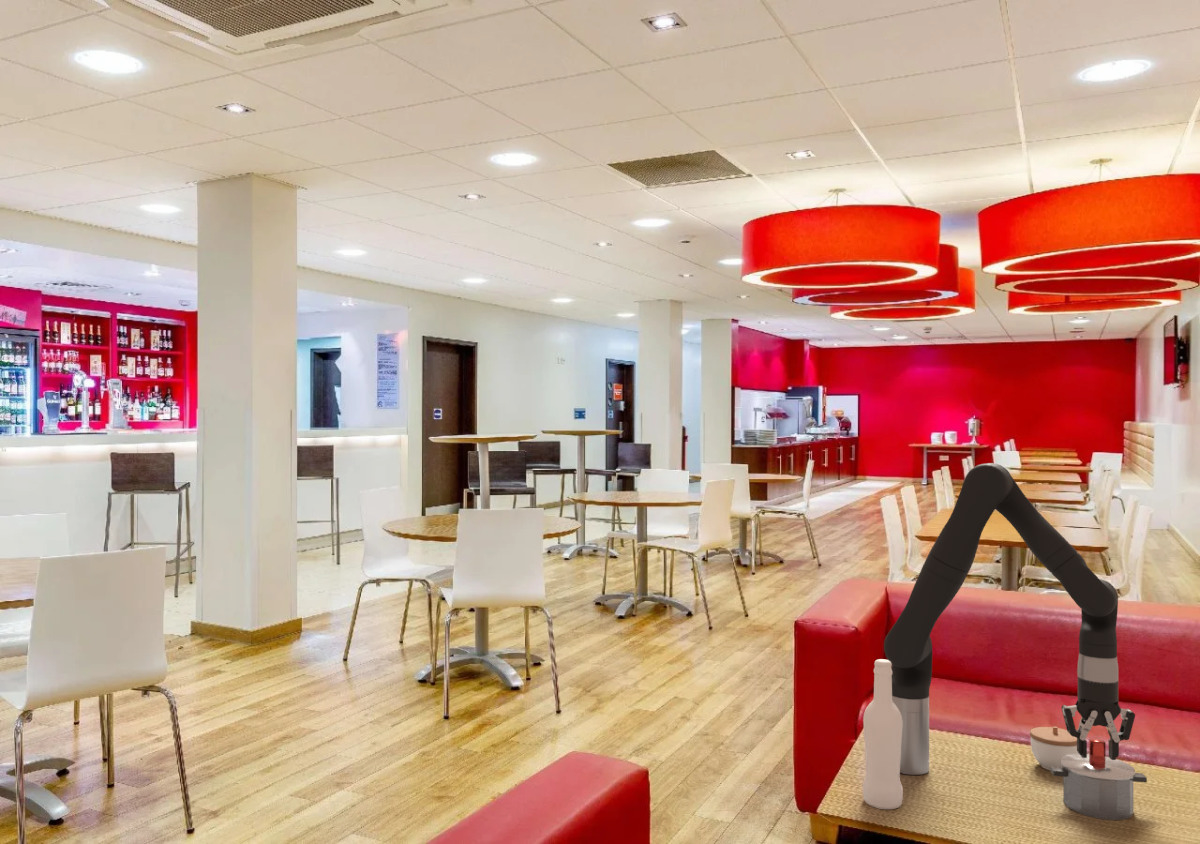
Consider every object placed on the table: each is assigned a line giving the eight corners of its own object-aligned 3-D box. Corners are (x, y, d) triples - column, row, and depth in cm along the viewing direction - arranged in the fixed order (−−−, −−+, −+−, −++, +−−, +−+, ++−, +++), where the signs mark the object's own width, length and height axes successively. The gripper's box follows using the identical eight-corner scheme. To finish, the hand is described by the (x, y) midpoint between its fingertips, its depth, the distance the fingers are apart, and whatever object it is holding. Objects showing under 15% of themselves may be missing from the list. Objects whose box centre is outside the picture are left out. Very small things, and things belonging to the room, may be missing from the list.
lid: (1071, 782, 186) (1071, 749, 187) (1053, 759, 200) (1053, 728, 200) (1145, 788, 184) (1145, 754, 184) (1121, 764, 197) (1121, 732, 197)
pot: (1060, 815, 187) (1060, 776, 187) (1043, 792, 199) (1043, 755, 199) (1156, 823, 184) (1156, 783, 184) (1133, 799, 196) (1133, 761, 196)
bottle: (882, 813, 188) (882, 666, 188) (854, 799, 195) (854, 658, 195) (911, 806, 191) (911, 662, 192) (882, 792, 199) (883, 654, 199)
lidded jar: (1069, 760, 219) (1069, 720, 219) (1089, 776, 209) (1089, 735, 209) (1023, 758, 220) (1023, 719, 220) (1040, 774, 210) (1040, 733, 210)
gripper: (1066, 679, 189) (1066, 761, 189) (1142, 683, 187) (1142, 766, 187) (1055, 669, 197) (1055, 749, 197) (1128, 673, 194) (1128, 754, 194)
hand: (1097, 757), depth 192 cm, fingers open, 5 cm apart
